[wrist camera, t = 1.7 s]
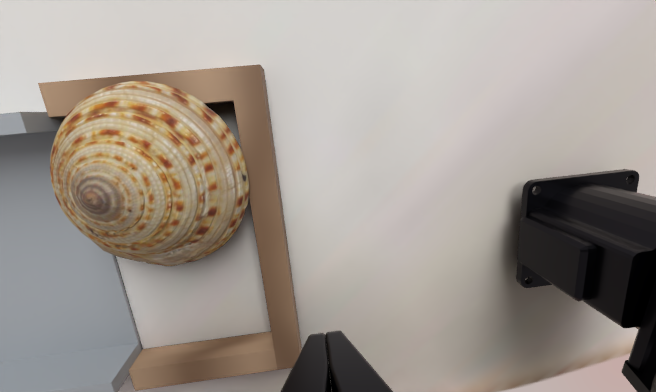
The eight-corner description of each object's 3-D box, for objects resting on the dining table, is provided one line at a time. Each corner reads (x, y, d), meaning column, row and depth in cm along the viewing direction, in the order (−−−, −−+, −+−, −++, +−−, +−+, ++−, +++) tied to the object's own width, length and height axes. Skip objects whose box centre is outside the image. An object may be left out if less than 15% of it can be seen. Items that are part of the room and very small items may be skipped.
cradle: (263, 69, 16) (259, 64, 14) (301, 346, 20) (301, 366, 18) (64, 86, 15) (38, 83, 13) (148, 368, 19) (135, 390, 18)
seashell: (90, 290, 16) (-67, 178, 9) (130, 201, 19) (35, 80, 13) (257, 279, 16) (209, 164, 10) (265, 194, 19) (233, 71, 13)
